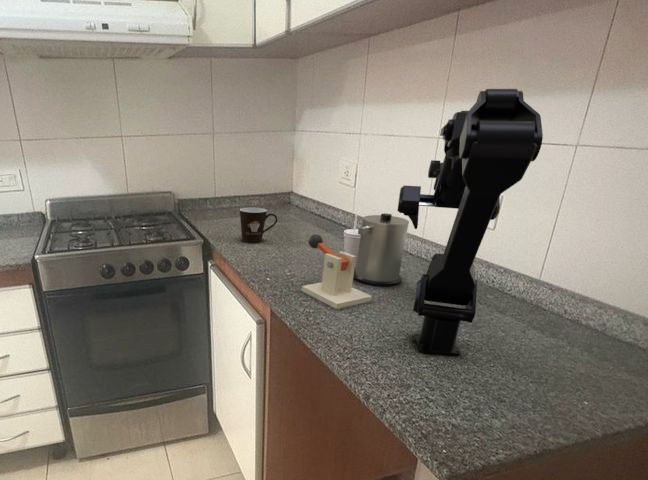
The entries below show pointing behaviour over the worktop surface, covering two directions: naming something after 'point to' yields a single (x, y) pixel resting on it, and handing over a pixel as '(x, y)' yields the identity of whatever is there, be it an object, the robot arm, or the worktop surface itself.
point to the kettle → (381, 250)
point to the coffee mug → (253, 224)
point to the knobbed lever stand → (337, 283)
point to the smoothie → (352, 241)
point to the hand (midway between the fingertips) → (437, 229)
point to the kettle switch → (326, 249)
